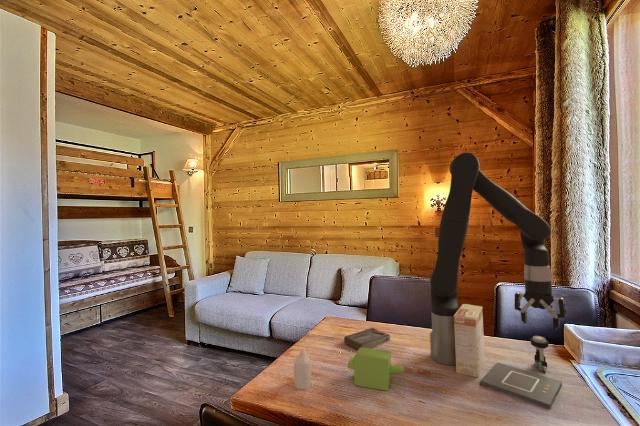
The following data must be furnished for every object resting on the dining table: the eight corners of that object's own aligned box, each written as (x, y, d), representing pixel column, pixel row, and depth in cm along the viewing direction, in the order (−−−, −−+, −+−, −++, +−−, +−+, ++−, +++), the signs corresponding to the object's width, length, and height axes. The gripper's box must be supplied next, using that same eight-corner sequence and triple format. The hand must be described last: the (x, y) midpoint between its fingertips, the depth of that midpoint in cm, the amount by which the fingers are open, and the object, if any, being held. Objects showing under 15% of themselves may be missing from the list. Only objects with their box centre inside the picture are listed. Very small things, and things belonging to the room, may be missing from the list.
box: (343, 343, 133) (343, 336, 133) (372, 333, 143) (372, 326, 143) (361, 352, 124) (361, 344, 124) (390, 341, 135) (390, 334, 135)
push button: (554, 373, 103) (553, 343, 103) (536, 372, 105) (535, 342, 105) (545, 364, 110) (544, 335, 110) (528, 362, 111) (527, 334, 111)
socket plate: (480, 384, 99) (480, 380, 99) (497, 365, 110) (497, 362, 110) (550, 409, 86) (550, 404, 86) (562, 385, 97) (561, 381, 97)
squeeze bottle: (292, 345, 105) (308, 343, 106) (293, 381, 105) (310, 378, 106) (293, 352, 99) (311, 350, 100) (295, 390, 99) (312, 388, 100)
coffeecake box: (464, 355, 119) (462, 303, 119) (485, 359, 115) (483, 306, 114) (455, 372, 106) (452, 314, 106) (478, 378, 102) (476, 318, 102)
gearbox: (405, 378, 105) (405, 349, 105) (403, 393, 95) (402, 362, 96) (352, 370, 111) (352, 343, 111) (345, 384, 101) (345, 354, 102)
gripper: (510, 277, 110) (513, 324, 110) (561, 282, 99) (564, 334, 99) (517, 274, 115) (519, 318, 115) (566, 278, 104) (568, 327, 104)
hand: (540, 325), depth 107 cm, fingers open, 8 cm apart
